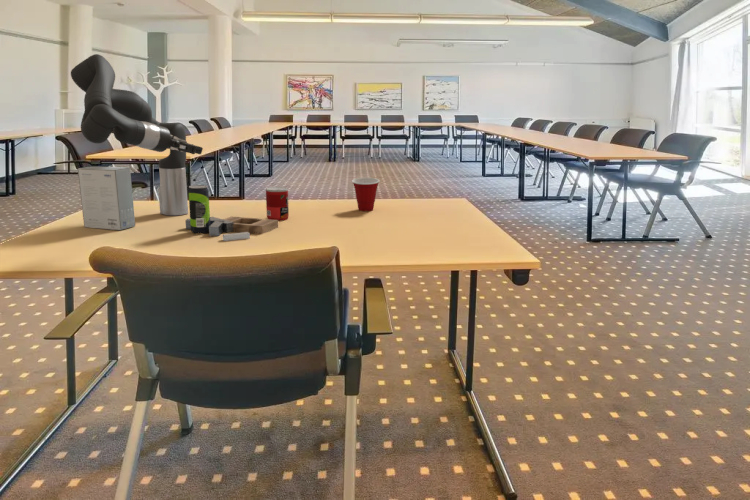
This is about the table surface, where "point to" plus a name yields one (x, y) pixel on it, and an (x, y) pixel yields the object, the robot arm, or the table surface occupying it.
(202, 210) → the beverage can
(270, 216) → the canned food
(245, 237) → the bar
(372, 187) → the plastic cup
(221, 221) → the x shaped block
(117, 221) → the hard drive box
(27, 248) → the table surface
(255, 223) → the wooden rectangular frame
